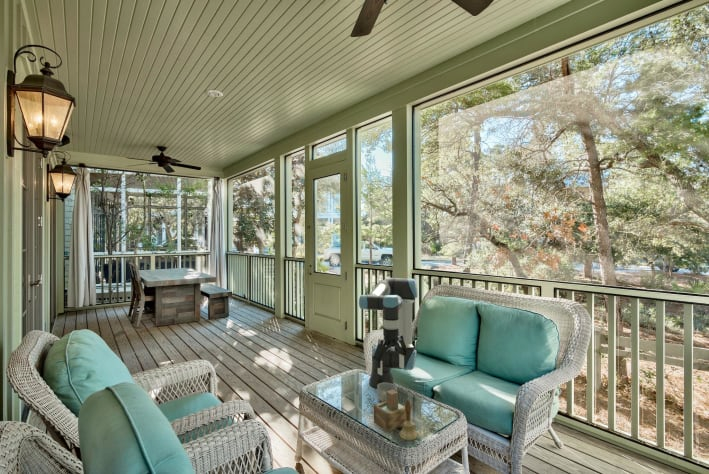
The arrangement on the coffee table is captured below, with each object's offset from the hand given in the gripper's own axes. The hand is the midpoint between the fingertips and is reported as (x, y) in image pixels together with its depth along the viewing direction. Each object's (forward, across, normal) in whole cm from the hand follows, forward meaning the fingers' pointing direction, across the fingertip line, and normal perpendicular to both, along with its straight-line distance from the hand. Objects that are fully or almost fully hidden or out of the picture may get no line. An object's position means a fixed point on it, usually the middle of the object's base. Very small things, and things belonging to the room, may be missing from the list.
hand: (391, 371), depth 166 cm
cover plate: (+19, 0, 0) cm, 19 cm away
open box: (+25, 0, 0) cm, 25 cm away
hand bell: (+25, 0, +13) cm, 28 cm away
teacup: (+25, -10, -17) cm, 32 cm away
